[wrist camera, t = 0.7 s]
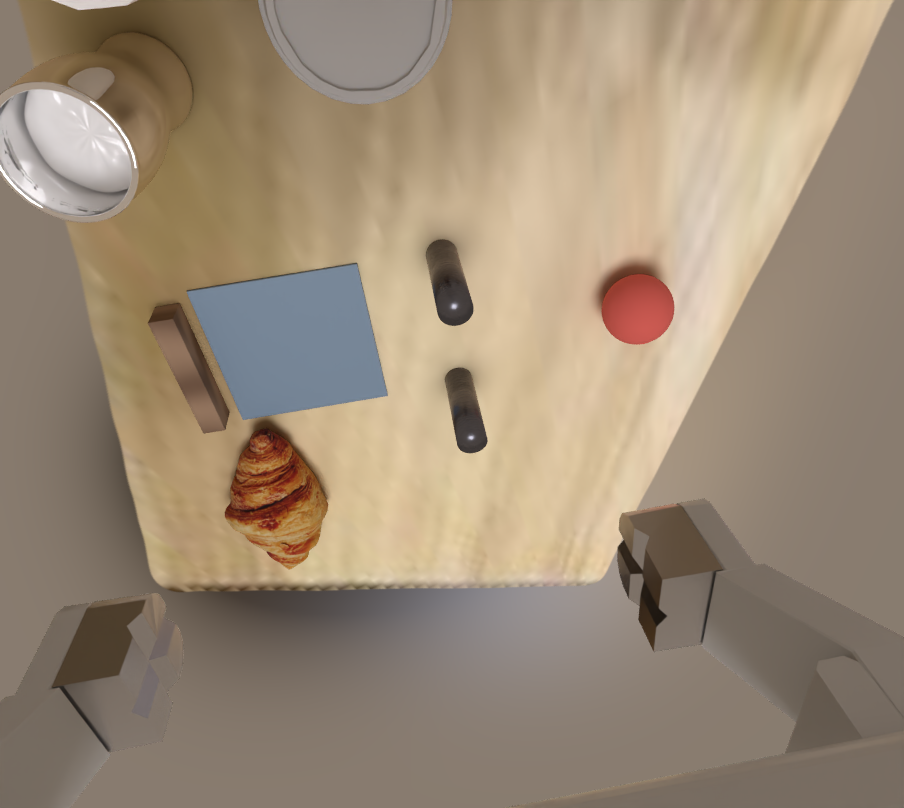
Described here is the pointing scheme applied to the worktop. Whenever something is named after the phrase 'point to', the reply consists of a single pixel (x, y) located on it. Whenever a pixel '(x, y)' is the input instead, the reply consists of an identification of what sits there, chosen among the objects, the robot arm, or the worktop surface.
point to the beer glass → (92, 126)
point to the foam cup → (94, 3)
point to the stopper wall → (189, 367)
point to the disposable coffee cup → (358, 43)
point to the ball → (638, 309)
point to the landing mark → (292, 340)
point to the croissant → (276, 500)
